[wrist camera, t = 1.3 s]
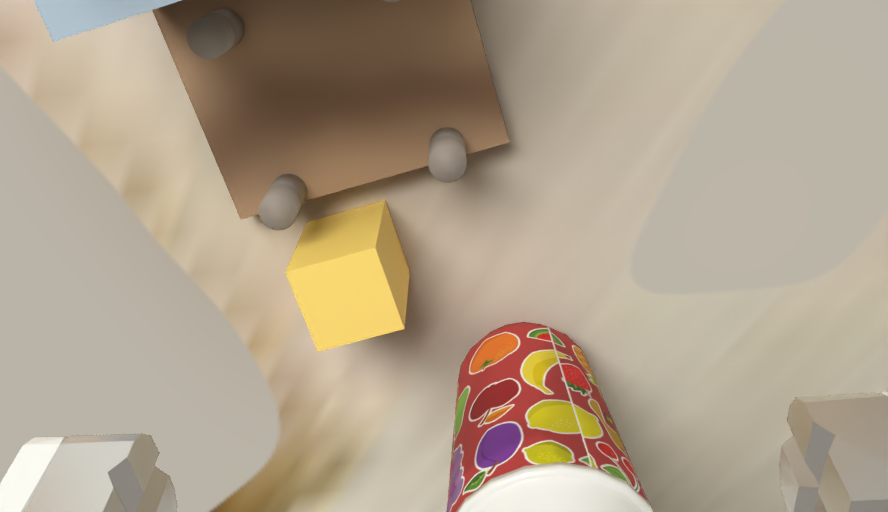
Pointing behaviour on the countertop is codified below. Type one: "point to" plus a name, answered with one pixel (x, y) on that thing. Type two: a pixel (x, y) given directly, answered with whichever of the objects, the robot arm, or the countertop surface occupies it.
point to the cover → (89, 13)
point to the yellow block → (350, 276)
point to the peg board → (332, 93)
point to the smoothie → (536, 431)
